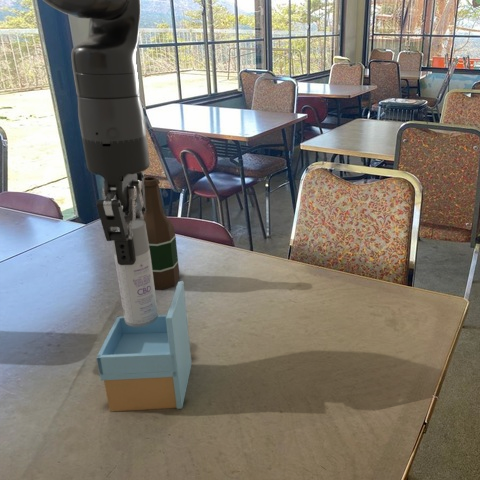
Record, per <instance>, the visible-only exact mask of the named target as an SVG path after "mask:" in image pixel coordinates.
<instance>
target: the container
mask: <svg viewBox="0 0 480 480" xmlns="http://www.w3.org/2000/svg"><path fill="white" fill-rule="evenodd" d="M117 231H120V228H119V227H117ZM132 232H133V237H132V238H133V242H134V249H135V256H136V261H135V263H134V264H133V265H119V264H118V262H117V255H116V249H115V242H114V241H112V248H113V255H114V256H113V257H114V263H115V270H116V275H117V282H118V288H119V294H120V301H121V306H122V312H123V316H124V319H125V323H126V324H127V325H129V326H133V327H141V326H146V325H149V324H151V323H153V322H154V321H155V320H156V319H157V318H158V315H159V313H158V312H159V311H158V304H157V296H156V289H155V287H154V279H153V271H152V263H151V255H150V249H149V242H148V236H147V230H146V223H145V221H144V220H142V219H138V218H136V219H135V221H133V222H132Z"/></svg>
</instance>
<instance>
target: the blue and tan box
mask: <svg viewBox="0 0 480 480" xmlns="http://www.w3.org/2000/svg"><path fill="white" fill-rule="evenodd" d="M186 302H187V301H186V293H185V283H184V281H183V280H181V281H180V280H178V282H177V283H176V287H175V291H174V293H173V296H172V299H171V302H170V305H169V308H168V311H167V314H158V318H157V319H156V320H155V321H154V322H153V323H151V324H149V325H146V326H141V327H133V326H129V325H127V324H126V323H125V319H124V315H121V316H120V315H119V316H117V317H116V318H115V320H114V322H113V324H112V326H111V328H110V330H109V332H108V333H107V336H106V338H105V340H104V342H103V343H102V345H101V347H100V350H99V352H98V354H97V356H96V358H95V359H96V363H97V369H98V373H99V378H100V381H103V383H104V388H105V393H106V398H107V403H108V408H109V412H128V411H144V410H160V409H161V410H162V409H176V410H182V409H183V407H184V402H185V397H186V393H187V389H188V383H189V380H190V374H191V370H192V363H193V362H192V353H191V343H190V342H191V341H190V335H189V323H188V314H187V303H186Z"/></svg>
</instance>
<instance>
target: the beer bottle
mask: <svg viewBox="0 0 480 480" xmlns="http://www.w3.org/2000/svg"><path fill="white" fill-rule="evenodd" d="M160 182H161V181H160V179H159V178H157V177H155V176H146V177H145V176H144V189H145V207H146V212H145V213H143V216H144V221H145V223H146V230H147V236H148V242H149V249H150V255H151V263H152V271H153V279H154V287H155V290H157V291H158V290H160V291H163V290H167V289H170V288H173V287H175V286H176V285H177V284H178V281H180V266H179V257H178V246H177V236H176V231H175V227H174V225H173V223H172V221H171V220H170V219H169V217H168V216H167V215H166V213H165V210H164V207H163V203H162V196H161V192H160V185H159V184H161V183H160Z"/></svg>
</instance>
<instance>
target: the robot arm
mask: <svg viewBox="0 0 480 480" xmlns="http://www.w3.org/2000/svg"><path fill="white" fill-rule="evenodd" d="M42 2H44V3H45V4H47V5H48V6H50V7H51V8H53V9H55V10H57V11H59V12H60V13H63V14H65V15H67V16H70V17H74V18H77V19H87V20H89V23H88V33H87V34H88V35H87V38H86V39H85V40H84V41H82V42H80V43H77V44H76V45H74V46H73V48H72V49H71V54H70V55H71V57H70V58H71V67H72V72H73V79H74V86H75V91H76V96H77V97H76V98H77V113H78V114H77V116H78V124H79V128H80V135H81V141H82V146H83V152H84V157H85V162H86V168H87V170H88V172H89V173H91V174H93V175H96V176H97V175H98V176H100V177H102V178H103V186H102V199H97V201H96V208H97V212H98V216H99V219H100V223H101V226H102V230H103V233H104V236H105V241H106V242H113V241H114V242H115V249H116V255H117V262H118V264H119V265H133V264H134V263H135V261H136V256H135V249H134V242H133V238H132V237H133V232H132V222H133V221H135V219H136V218H138V219H142V220H144V216H143V213H145V212H146V207H145V189H144V178H145V174H144V172H145V171H147V170H148V169H149V167H150V164H151V162H150V154H149V153H150V152H149V144H148V137H147V136H148V135H147V129H146V119H145V113H144V109H143V104H142V100H141V95H140V88H139V87H140V86H139V79H138V72H137V64H136V53H137V48H138V43H139V34H140V23H141V12H142V0H42ZM117 227H119V228H120V231H117Z"/></svg>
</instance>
